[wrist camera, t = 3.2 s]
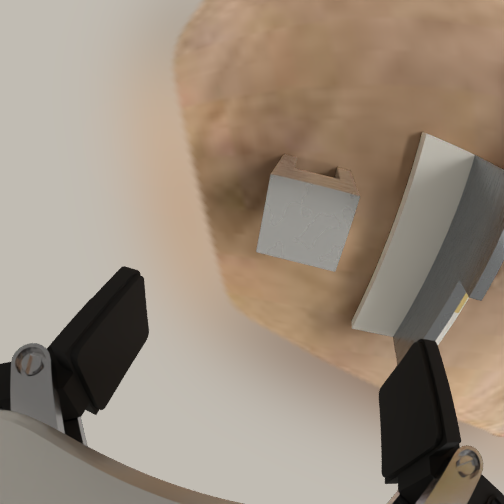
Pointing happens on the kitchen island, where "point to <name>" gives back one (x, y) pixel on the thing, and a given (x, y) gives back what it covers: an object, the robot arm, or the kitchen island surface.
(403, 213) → the base board
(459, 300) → the rail
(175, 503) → the robot arm
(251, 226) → the kitchen island surface
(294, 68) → the kitchen island surface
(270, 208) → the clip
